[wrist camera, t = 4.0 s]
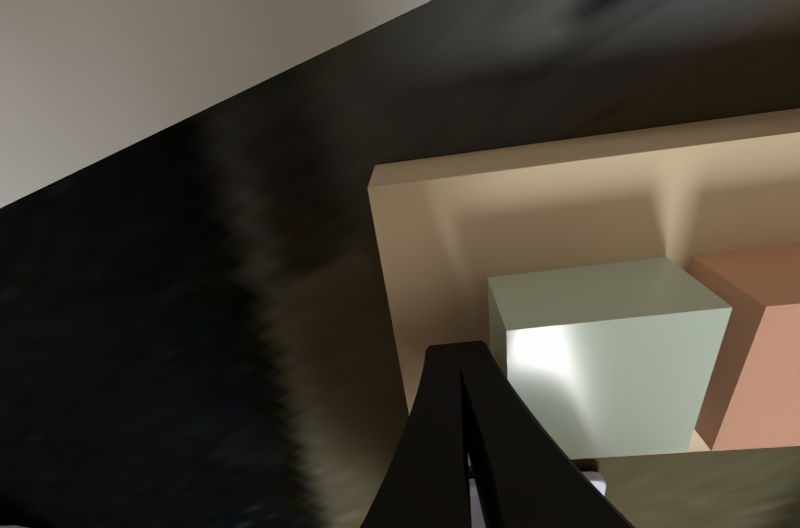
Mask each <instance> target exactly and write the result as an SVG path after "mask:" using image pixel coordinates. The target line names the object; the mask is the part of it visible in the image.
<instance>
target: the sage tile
mask: <svg viewBox="0 0 800 528" xmlns="http://www.w3.org/2000/svg"><path fill="white" fill-rule="evenodd" d="M487 283H488V303H489V324H490V344H491V354H492V355H493V357H494V359H495V361H496V362H497V364H498V365H499V367H500V369H501V370H502V372H503V373H504V375H505V376H506V378H507V379H508V381H509V382H510V384H511V385H512V387H513V388H514V389H515V391H516V392H517V394H518V395H519V396H520V398H521V399H522V400H523V402H524V403H525V404H526V406H527V407H528V408H529V410H530V411H531V412H532V414H533V415H534V416H535V418H536V419H537V420H538V421H539V423H540V424H541V425H542V426H543V428H544V429H545V430H546V431H547V433H548V434H549V435H550V436H551V437H552V439H553V440H554V441H555V442H556V443H557V445H558V446H559V447H560V448H561V449H562V450H563V452H564V453H565V454H566V455H567V456H568V457H569V459H582V458H596V457H610V456H624V455H637V454H651V453H665V452H679V451H687V450H688V447H689V444H690V441H691V437H692V434H693V431H694V428H695V425H696V422H697V418H698V415H699V412H700V409H701V406H702V403H703V399H704V396H705V393H706V390H707V387H708V384H709V381H710V377H711V374H712V371H713V368H714V365H715V362H716V358H717V355H718V352H719V349H720V346H721V343H722V339H723V336H724V333H725V330H726V327H727V324H728V321H729V317H730V314H731V311H732V308H733V307H732V306H730V305H729V304H728V303H726V302H725V301H724V300H722V299H721V298H720V297H718V296H717V295H716V294H715V293H713V292H712V291H711V290H709V289H708V288H707V287H705V286H704V285H703V284H701V283H700V282H699V281H697V280H696V279H695V278H693V277H692V276H691V275H690V274H688V273H687V272H686V271H684V270H683V269H682V268H680V267H679V266H678V265H676V264H675V263H674V262H672V261H671V260H670V259H669V258H667V257H659V258H650V259H641V260H633V261H624V262H615V263H607V264H598V265H590V266H581V267H572V268H564V269H555V270H547V271H538V272H529V273H521V274H512V275H504V276H495V277H487Z"/></svg>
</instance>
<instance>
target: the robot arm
mask: <svg viewBox="0 0 800 528" xmlns="http://www.w3.org/2000/svg"><path fill="white" fill-rule="evenodd" d="M468 454H469V458H470V463H471V467H472V471H473V476H474V478H473V479H469V463H468ZM605 490H606V483H605V480H604V478H603V476H602V475H601V474H600V473H597V472H592V471H589V472H581V471H580V470H579V469H578V468H577V466H576V465H575V464H574V463H573V462H572V461H571V460H570V459H569V457H568V456H567V455H566V454H565V453H564V452H563V450H562V449H561V448H560V447H559V446H558V445H557V443H556V442H555V441H554V440H553V439H552V437H551V436H550V435H549V434H548V433H547V431H546V430H545V429H544V428H543V426H542V425H541V424H540V423H539V421H538V420H537V419H536V418H535V416H534V415H533V414H532V412H531V411H530V410H529V408H528V407H527V406H526V404H525V403H524V402H523V400H522V399H521V398H520V396H519V395H518V394H517V392H516V391H515V389H514V388H513V387H512V385H511V384H510V382H509V381H508V379H507V378H506V376H505V375H504V373H503V372H502V370H501V369H500V367H499V365H498V364H497V362H496V361H495V359H494V357H493V355H492V354H491V352H490V350H489V348H488V346H487V344H486V343H485V342H483V341H482V340H480V341H469V342H459V343H449V344H438V345H430V346H429V347H428V348H427V349H426V350H425V360H424V366H423V371H422V375H421V379H420V383H419V386H418V390H417V394H416V397H415V400H414V403H413V406H412V409H411V412H410V415H409V418H408V421H407V424H406V427H405V429H404V432H403V435H402V437H401V440H400V442H399V445H398V447H397V450H396V452H395V455H394V457H393V460H392V462H391V464H390V467H389V469H388V471H387V473H386V476H385V478H384V480H383V482H382V485H381V487H380V489H379V491H378V493H377V495H376V497H375V499H374V501H373V503H372V505H371V507H370V510H369V512H368V514H367V516H366V518H365V519H364V521H363V523H362V525H361V527H360V528H635V527H634V526H633V525H632V524H631V523H630V522H629V521H628V520H627V519H626V518H625V517H624V516H623V515H622V514H621V513H620V512H619V511H618V510H617V509H616V508H615V507H614V506H613V505H612V504H611V503H610V502H609V501H608V500H607V499H606V498H605V497H604V495H605Z"/></svg>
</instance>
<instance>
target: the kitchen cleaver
mask: <svg viewBox="0 0 800 528" xmlns="http://www.w3.org/2000/svg"><path fill="white" fill-rule="evenodd" d="M429 1H431V0H0V208H1V207H3V206H5V205H7V204H10V203H12V202H14V201H16V200H18V199H20V198H22V197H24V196H26V195H28V194H30V193H32V192H34V191H37V190H39V189H41V188H43V187H45V186H47V185H49V184H51V183H53V182H55V181H57V180H59V179H61V178H64V177H66V176H68V175H70V174H72V173H74V172H76V171H78V170H80V169H82V168H84V167H86V166H88V165H91V164H93V163H95V162H97V161H99V160H101V159H103V158H105V157H107V156H109V155H111V154H113V153H115V152H118V151H120V150H122V149H124V148H126V147H128V146H130V145H132V144H134V143H136V142H138V141H140V140H142V139H145V138H147V137H149V136H151V135H153V134H155V133H157V132H159V131H161V130H163V129H165V128H167V127H169V126H171V125H174V124H176V123H178V122H180V121H182V120H184V119H186V118H188V117H190V116H192V115H194V114H196V113H198V112H201V111H203V110H205V109H207V108H209V107H211V106H213V105H215V104H217V103H219V102H221V101H223V100H225V99H228V98H230V97H232V96H234V95H236V94H238V93H240V92H242V91H244V90H246V89H248V88H250V87H252V86H255V85H257V84H259V83H261V82H263V81H265V80H267V79H269V78H271V77H273V76H275V75H277V74H279V73H282V72H284V71H286V70H288V69H290V68H292V67H294V66H296V65H298V64H300V63H302V62H304V61H306V60H309V59H311V58H313V57H315V56H317V55H319V54H321V53H323V52H325V51H327V50H329V49H331V48H333V47H336V46H338V45H340V44H342V43H344V42H346V41H348V40H350V39H352V38H354V37H356V36H358V35H360V34H363V33H365V32H367V31H369V30H371V29H373V28H375V27H377V26H379V25H381V24H383V23H385V22H387V21H390V20H392V19H394V18H396V17H398V16H400V15H402V14H404V13H406V12H408V11H410V10H412V9H414V8H416V7H419V6H421V5H423V4H425V3H427V2H429Z"/></svg>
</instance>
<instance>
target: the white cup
mask: <svg viewBox="0 0 800 528" xmlns="http://www.w3.org/2000/svg"><path fill="white" fill-rule="evenodd" d="M0 528H29V527H23V526H17V525H3V526H2V525H0Z"/></svg>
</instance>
